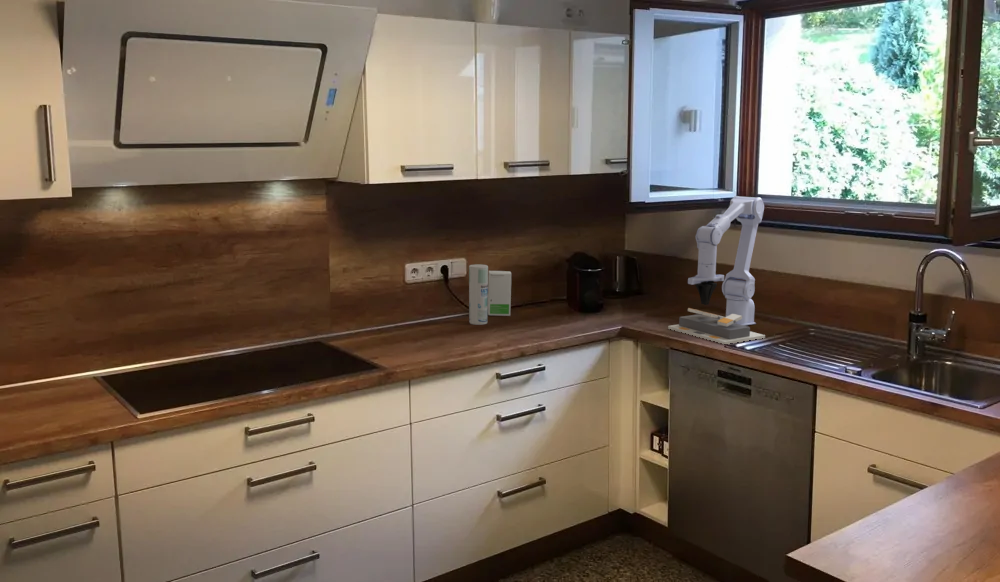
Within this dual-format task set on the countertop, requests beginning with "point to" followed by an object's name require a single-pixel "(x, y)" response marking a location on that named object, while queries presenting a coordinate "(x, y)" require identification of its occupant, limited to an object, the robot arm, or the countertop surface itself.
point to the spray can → (478, 294)
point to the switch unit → (714, 329)
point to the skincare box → (499, 293)
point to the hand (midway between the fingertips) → (705, 304)
